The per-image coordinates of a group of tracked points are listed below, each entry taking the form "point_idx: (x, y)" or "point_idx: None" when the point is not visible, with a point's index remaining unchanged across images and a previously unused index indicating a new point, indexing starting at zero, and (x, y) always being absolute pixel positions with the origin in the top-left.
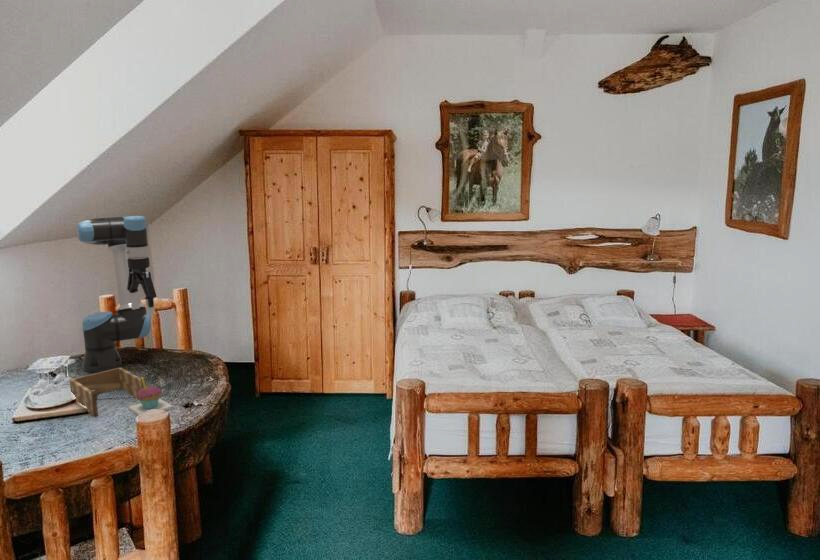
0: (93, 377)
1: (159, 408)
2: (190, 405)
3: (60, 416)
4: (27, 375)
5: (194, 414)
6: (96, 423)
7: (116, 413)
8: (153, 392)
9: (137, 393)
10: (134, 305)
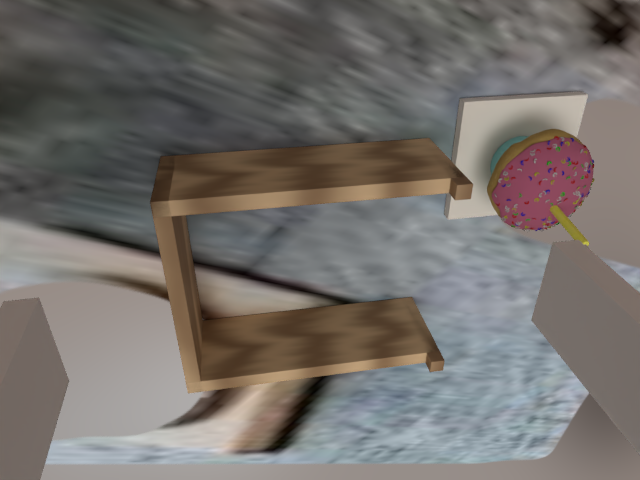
0: (190, 312)
1: None
2: (620, 19)
3: None
4: None
5: None
6: (465, 311)
7: (442, 252)
8: (589, 185)
9: (526, 228)
10: (44, 404)
